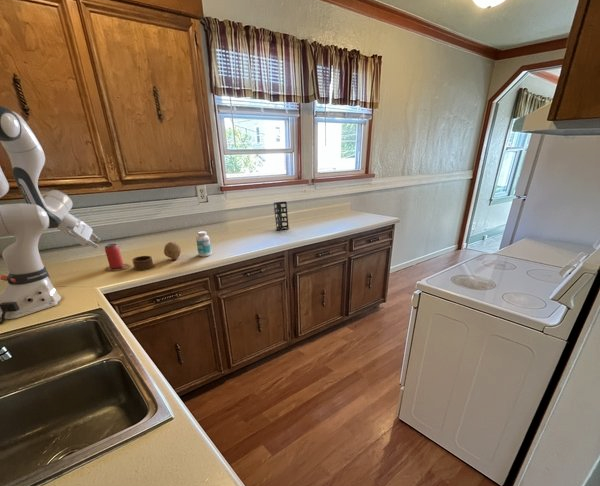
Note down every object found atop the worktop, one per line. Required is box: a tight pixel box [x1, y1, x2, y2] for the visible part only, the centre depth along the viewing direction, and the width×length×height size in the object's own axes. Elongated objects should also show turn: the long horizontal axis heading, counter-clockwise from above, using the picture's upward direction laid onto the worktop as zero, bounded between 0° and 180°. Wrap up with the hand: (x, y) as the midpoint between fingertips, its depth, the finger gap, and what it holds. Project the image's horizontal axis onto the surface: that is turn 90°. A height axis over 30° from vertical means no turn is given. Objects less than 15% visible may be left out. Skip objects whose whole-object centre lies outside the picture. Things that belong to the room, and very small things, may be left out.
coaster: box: [105, 263, 130, 272], centre depth 175 cm, size 11×11×1 cm
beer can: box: [104, 243, 124, 269], centre depth 172 cm, size 7×7×12 cm
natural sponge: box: [163, 241, 182, 260], centre depth 184 cm, size 9×9×10 cm
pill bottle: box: [195, 230, 212, 257], centre depth 191 cm, size 8×7×14 cm
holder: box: [273, 201, 289, 231], centre depth 249 cm, size 11×8×20 cm
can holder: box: [131, 255, 155, 271], centre depth 174 cm, size 9×9×5 cm
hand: (98, 244), depth 160 cm, fingers open, 8 cm apart
